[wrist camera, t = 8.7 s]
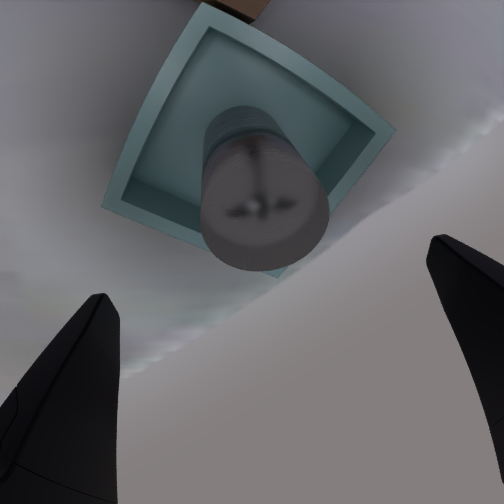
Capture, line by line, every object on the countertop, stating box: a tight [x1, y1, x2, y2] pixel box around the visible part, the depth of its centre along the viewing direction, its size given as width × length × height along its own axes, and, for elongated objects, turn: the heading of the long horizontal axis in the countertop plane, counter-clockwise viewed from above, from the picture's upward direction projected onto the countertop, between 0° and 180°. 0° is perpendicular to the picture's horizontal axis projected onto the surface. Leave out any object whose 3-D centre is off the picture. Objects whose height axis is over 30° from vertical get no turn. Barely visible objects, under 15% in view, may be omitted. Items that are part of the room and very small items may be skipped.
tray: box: [101, 2, 396, 278], centre depth 15 cm, size 10×10×3 cm
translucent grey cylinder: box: [200, 106, 330, 271], centre depth 12 cm, size 4×4×8 cm
